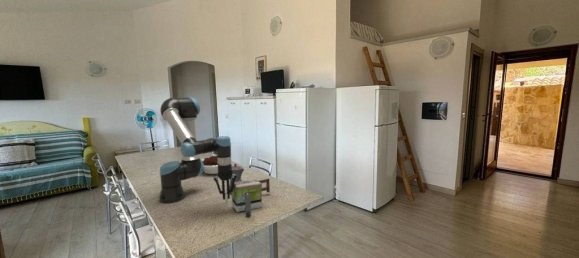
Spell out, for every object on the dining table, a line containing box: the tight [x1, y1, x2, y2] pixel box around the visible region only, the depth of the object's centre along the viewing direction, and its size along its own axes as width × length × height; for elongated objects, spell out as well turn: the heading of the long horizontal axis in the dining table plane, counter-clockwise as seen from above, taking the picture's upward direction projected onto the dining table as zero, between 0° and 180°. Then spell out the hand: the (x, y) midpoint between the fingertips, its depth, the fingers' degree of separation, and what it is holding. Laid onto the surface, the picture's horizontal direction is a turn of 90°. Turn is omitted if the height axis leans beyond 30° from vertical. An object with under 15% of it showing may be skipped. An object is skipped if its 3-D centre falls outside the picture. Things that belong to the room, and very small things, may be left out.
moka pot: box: [229, 163, 245, 195], centre depth 168 cm, size 10×15×20 cm, turn 78°
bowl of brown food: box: [202, 155, 219, 175], centre depth 213 cm, size 25×25×15 cm
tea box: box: [231, 178, 263, 213], centre depth 145 cm, size 15×10×15 cm, turn 120°
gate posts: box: [237, 179, 252, 218], centre depth 145 cm, size 6×27×13 cm, turn 22°
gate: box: [258, 178, 271, 193], centre depth 160 cm, size 2×18×9 cm, turn 119°
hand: (226, 204), depth 141 cm, fingers closed
